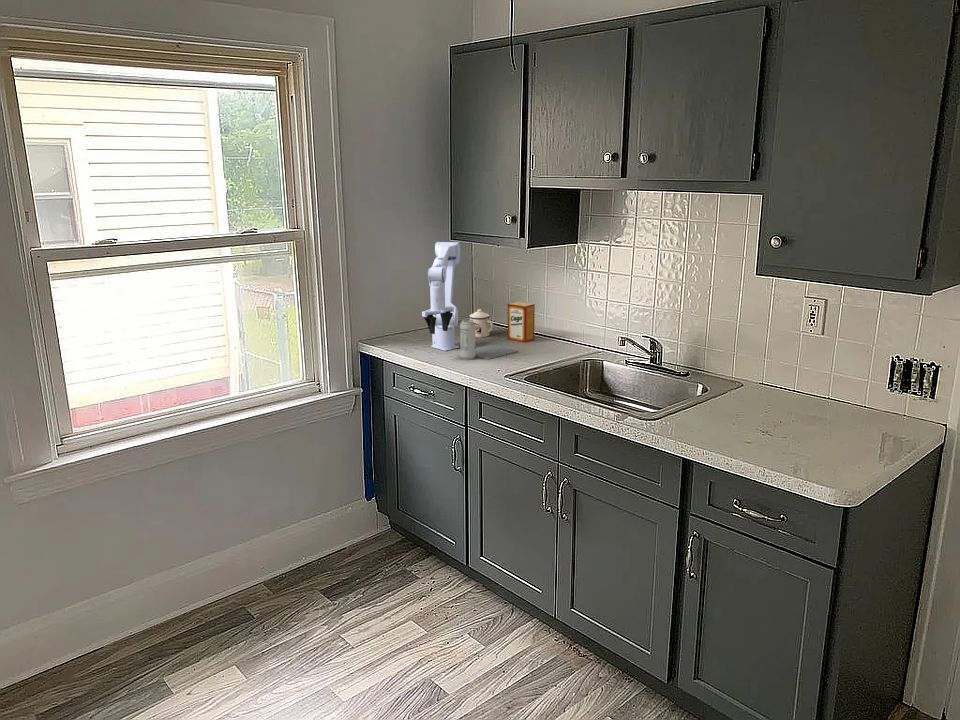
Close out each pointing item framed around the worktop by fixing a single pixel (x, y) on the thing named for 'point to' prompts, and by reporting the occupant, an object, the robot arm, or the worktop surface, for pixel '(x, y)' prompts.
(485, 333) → the teacup with lid
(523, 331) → the baking soda box
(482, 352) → the mat
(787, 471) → the worktop surface
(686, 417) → the worktop surface
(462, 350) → the energy drink can
